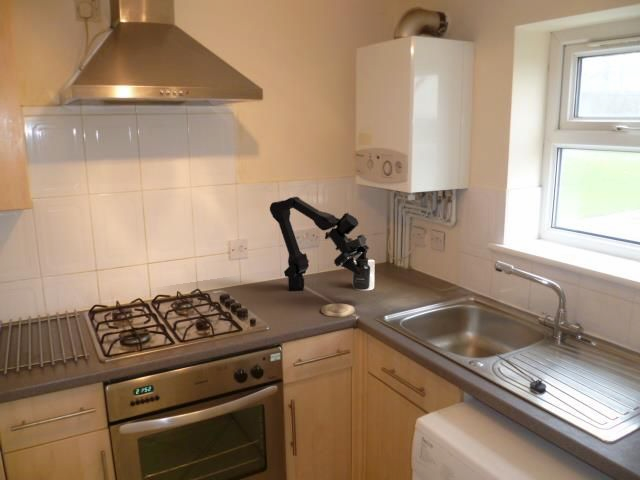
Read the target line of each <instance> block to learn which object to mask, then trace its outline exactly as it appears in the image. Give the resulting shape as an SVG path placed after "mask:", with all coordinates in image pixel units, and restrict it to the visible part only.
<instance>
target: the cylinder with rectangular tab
mask: <svg viewBox="0 0 640 480" xmlns="http://www.w3.org/2000/svg"><path fill="white" fill-rule="evenodd" d="M355 260H356V259H354V263H355V264H356V261H355ZM375 264H376V261H375V260H374V259H368V265H369V266H370V286H369V288H368V289H365V290H364V291H371V290H373V289H375ZM356 290H357V291H360V290H359V289H356Z"/></svg>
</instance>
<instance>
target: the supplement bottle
mask: <svg viewBox="0 0 640 480" xmlns="http://www.w3.org/2000/svg"><path fill="white" fill-rule="evenodd" d="M355 260H356V266H357V267H358V269H359V271H360V272H361V274H360V275H358V274H356V273H354V272H352V287H353V289H354V290H357V289H359V290H358V291H366V290H365V289H368V288H369V286H370V266H369V265H368V260H369V258H367V257H366V258H365V257H358V258H355Z"/></svg>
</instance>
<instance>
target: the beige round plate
mask: <svg viewBox="0 0 640 480" xmlns="http://www.w3.org/2000/svg"><path fill="white" fill-rule="evenodd" d="M355 311H356V309H355V307H354V306H353V305H350V304H347V303H346V304H345V303H329V304H326V305H323V306H322V307H321V308H320V312H321V314H322V313H323V314H322V315H324V316H327V317H331V318H346V317H350V316H352V315H354V314H355Z"/></svg>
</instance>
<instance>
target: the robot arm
mask: <svg viewBox="0 0 640 480" xmlns="http://www.w3.org/2000/svg"><path fill="white" fill-rule="evenodd" d="M291 209H294V210H296V211H297V212H299V213H300V214H302V215H304V216H305V217H307V218H309V219H311V221H313V222H314V224H315V226H316V227H317V228H318V229H320V230H321V231H323V232H325V231H326V232H325V233H324V234H325V235H324V239H325V240H328V239H330V240H331V242H333V244H334V246H335V250H336V251H339V252H340V254H338V256H336V258H335V259H334V260H333V264H334V265H335V266H336V267H341V268H344V269H346V270H349V271H351V272H352V273H353V272H354V273H356V274H358V275H360V274H361V272H360V271H359V269H358V267H357V266H356V264H355V263H354V260H355V261H356V258H358V257H365V258H367V253H368V251H369V250H370V248H369V246H368V245H367V243H366V242H367V237H365V235H364V234H360V235H357V236H356V237H357V238H356V239H353V238H351V237H348V236H347V235H349V234H351V232H352V231H354V230H355V229H356V228H357V227H358V226H359V221H358V219H357V218H356V217H355V216H353V215H351V214H350V213H349V212H346V213H344V214H343V215H342V216H341V218H338V217H336V215H334V214H331V213H330V212H326V211H322V210H319V209H317V208H316V207H313V206H312V205H311V204H309V203H307V202H306V201H304V200H303V199H301V198H300V197H299V196H293V197H289V198H287V199H285V200H278V201H274V202H272V203H271V204H270V206H269V211H270V214H271V215H272V216H271V217H272V218H273V219H274V220H275V221H276V222H277V224H278V226H279V228H280V231H281V232H280V233H281V234H282V238H283V241H284V244H285V246H286V249H287V252H288V253H287V254H288V259H287V260H288V261H287V264H288V267H286V269H285V270H284V272H283V273H284V276H285V277H286V278H287V289H288V291H289V292H292V291H293V292H296V291H304V288H305V277H304V275H305V274H306V272H307V270H308V269H309V263H310V260H309V259H308V256H307V255H308V254H307V253H303V252H301V250H300V247H299V244H298V242H297V238H296V236H295V232H294V229H293V226H292V223H291V221H290V217H291Z"/></svg>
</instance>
